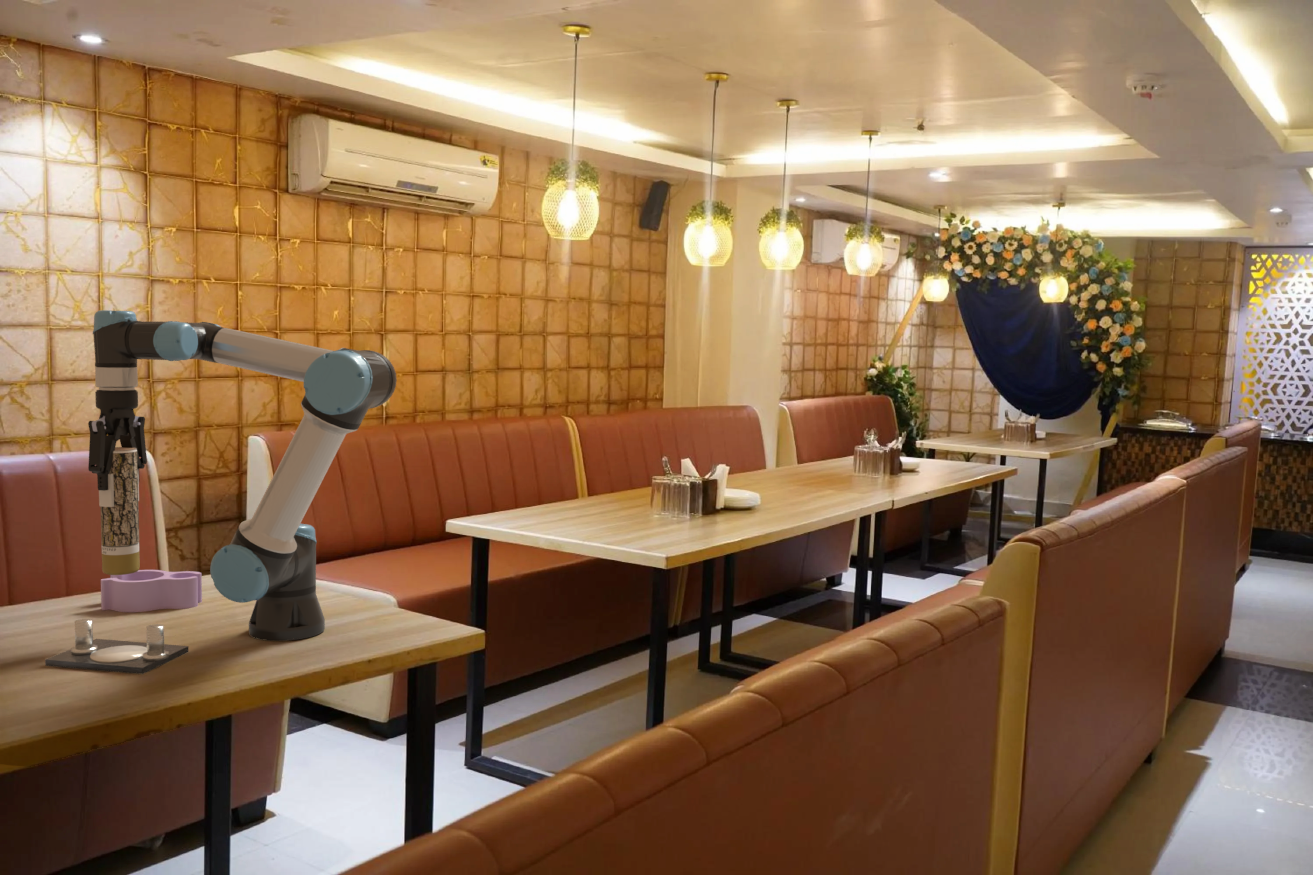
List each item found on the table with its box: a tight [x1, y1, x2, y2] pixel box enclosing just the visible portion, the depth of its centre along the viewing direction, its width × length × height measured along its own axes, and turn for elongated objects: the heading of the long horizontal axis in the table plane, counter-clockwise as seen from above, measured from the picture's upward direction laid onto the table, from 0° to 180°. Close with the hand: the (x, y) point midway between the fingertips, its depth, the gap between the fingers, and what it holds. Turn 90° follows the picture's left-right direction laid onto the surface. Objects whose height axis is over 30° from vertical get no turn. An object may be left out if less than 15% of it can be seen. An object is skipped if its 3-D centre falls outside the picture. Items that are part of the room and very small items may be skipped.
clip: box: [100, 569, 203, 613], centre depth 242 cm, size 20×12×7 cm, turn 100°
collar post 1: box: [70, 618, 97, 655], centre depth 203 cm, size 4×4×6 cm
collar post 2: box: [143, 623, 169, 661], centre depth 200 cm, size 4×4×6 cm
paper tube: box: [99, 446, 141, 576], centre depth 213 cm, size 7×7×25 cm
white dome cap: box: [90, 645, 147, 663], centre depth 202 cm, size 10×10×1 cm
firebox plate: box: [44, 638, 189, 675], centre depth 203 cm, size 20×14×1 cm
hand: (119, 503), depth 212 cm, fingers closed on paper tube, 7 cm apart
